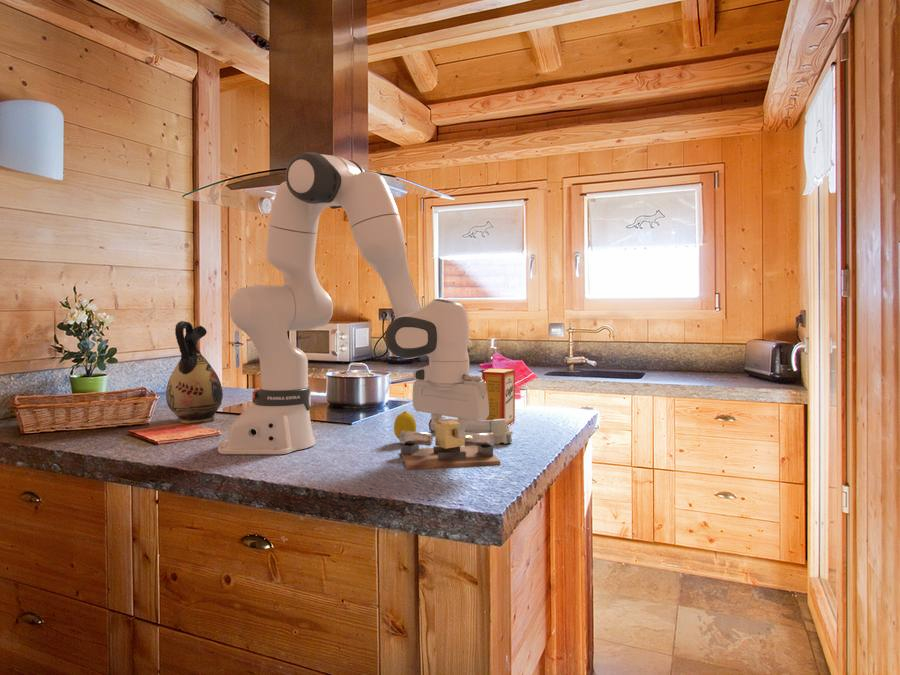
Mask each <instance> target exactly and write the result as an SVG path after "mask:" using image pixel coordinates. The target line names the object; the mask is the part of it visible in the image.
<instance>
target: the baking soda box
mask: <svg viewBox="0 0 900 675" xmlns="http://www.w3.org/2000/svg"><path fill="white" fill-rule="evenodd" d="M515 372H516V369H513V368H511V369H509V368H488V369H486V370H483V371H482V372H481V379H483V380H484V381H485V383H486V391H487V395H488V403H489V416H488V417H487V419H485V420H495V419H506V420H507V423H508V425H509V424H511V423H512V422H514V421H516V420H515V419H516V418H515V417H516V415H515V414H516V413H515V410H516V407H515V406H516V404H515V402H516V397H515V396H516V395H515V394H516V393H515V392H516V391H515V390H516V373H515ZM514 423H515V422H514ZM511 425H512V424H511ZM509 426H510V425H509Z"/></svg>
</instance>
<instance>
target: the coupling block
mask: <svg viewBox="0 0 900 675" xmlns="http://www.w3.org/2000/svg"><path fill="white" fill-rule="evenodd" d="M459 424H460V423H458V421H455V420H452V421H445V422H437V423H435V432H434V436H435V440H434V441H435V442H434V443H435V445H434V446H439V447H442V448H445V449H447V448H453V447H459V446H460V447H463V446H464V438H461V439H459V438H455V437H454V435H455V433H454V430H456V429H458V426H459Z"/></svg>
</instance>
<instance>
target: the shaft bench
mask: <svg viewBox="0 0 900 675" xmlns="http://www.w3.org/2000/svg"><path fill="white" fill-rule="evenodd" d="M400 455H401V457H402V459H403V462H404V464H405V467H406V470H422V469H423V470H424V469H437V468H439V469H441V468H460V467H461V468H462V467H477V466H478V467H479V466H480V467H481V466H497V465H501V460H500V459H499V458H498V457H497V456H496V455H495V454H494V453H493V456H492V457H482V456H481V455H480V454H479V453H478V446H466V447H465V446H459V447H453V448H447V449H445V448H442V447H439V446H436V445H433V447H426V448H425V447H421V448H420V447H419V451H417V452H415V453H414V454H412V455H403V454H401V453H400Z"/></svg>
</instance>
